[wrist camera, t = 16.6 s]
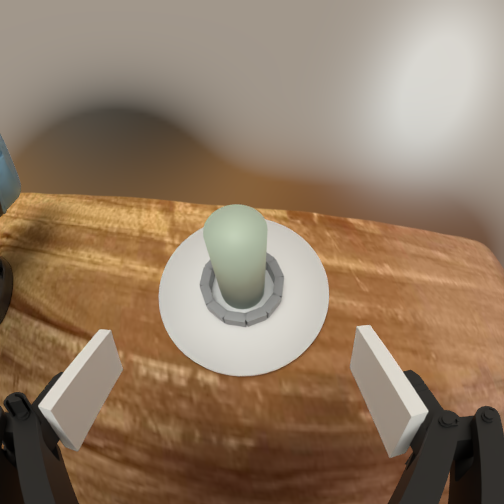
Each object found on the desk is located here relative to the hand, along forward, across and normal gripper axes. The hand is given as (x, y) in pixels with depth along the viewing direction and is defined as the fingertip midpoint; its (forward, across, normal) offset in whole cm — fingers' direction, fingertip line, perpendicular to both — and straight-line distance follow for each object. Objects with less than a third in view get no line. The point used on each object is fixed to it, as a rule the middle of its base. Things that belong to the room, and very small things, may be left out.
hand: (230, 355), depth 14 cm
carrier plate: (+19, 0, -5) cm, 20 cm away
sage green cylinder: (+18, 0, -4) cm, 19 cm away
